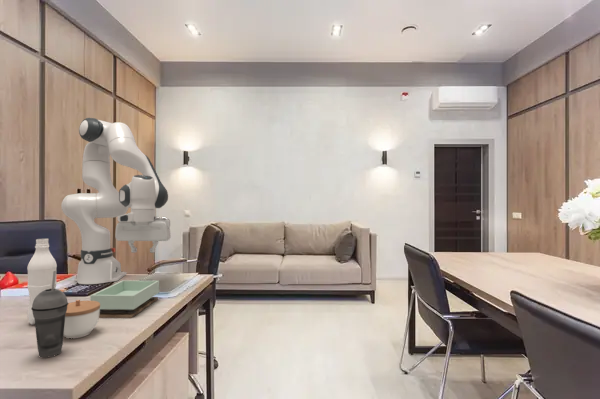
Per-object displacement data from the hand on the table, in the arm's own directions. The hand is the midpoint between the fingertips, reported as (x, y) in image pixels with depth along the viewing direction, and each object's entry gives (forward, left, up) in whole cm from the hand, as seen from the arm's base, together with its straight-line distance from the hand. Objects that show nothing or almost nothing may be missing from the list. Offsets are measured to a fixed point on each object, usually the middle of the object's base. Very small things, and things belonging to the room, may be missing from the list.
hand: (143, 252), depth 137 cm
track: (+17, -1, -16) cm, 23 cm away
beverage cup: (+52, +1, -16) cm, 55 cm away
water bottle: (+31, -16, -16) cm, 39 cm away
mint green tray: (+17, +2, -15) cm, 23 cm away
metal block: (0, 0, -16) cm, 16 cm away
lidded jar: (+40, 0, -16) cm, 43 cm away
